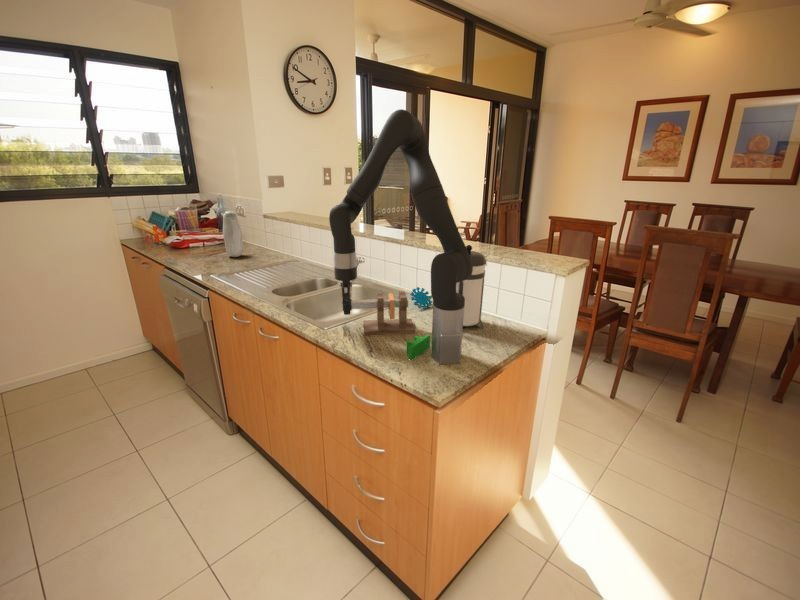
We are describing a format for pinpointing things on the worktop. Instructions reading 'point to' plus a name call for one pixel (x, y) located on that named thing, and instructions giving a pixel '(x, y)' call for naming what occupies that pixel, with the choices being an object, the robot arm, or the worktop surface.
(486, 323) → the worktop surface
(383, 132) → the robot arm
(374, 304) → the shaft
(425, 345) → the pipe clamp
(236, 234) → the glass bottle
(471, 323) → the coffee press
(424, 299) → the teal spiky round piece
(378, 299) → the stand
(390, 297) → the spacer
